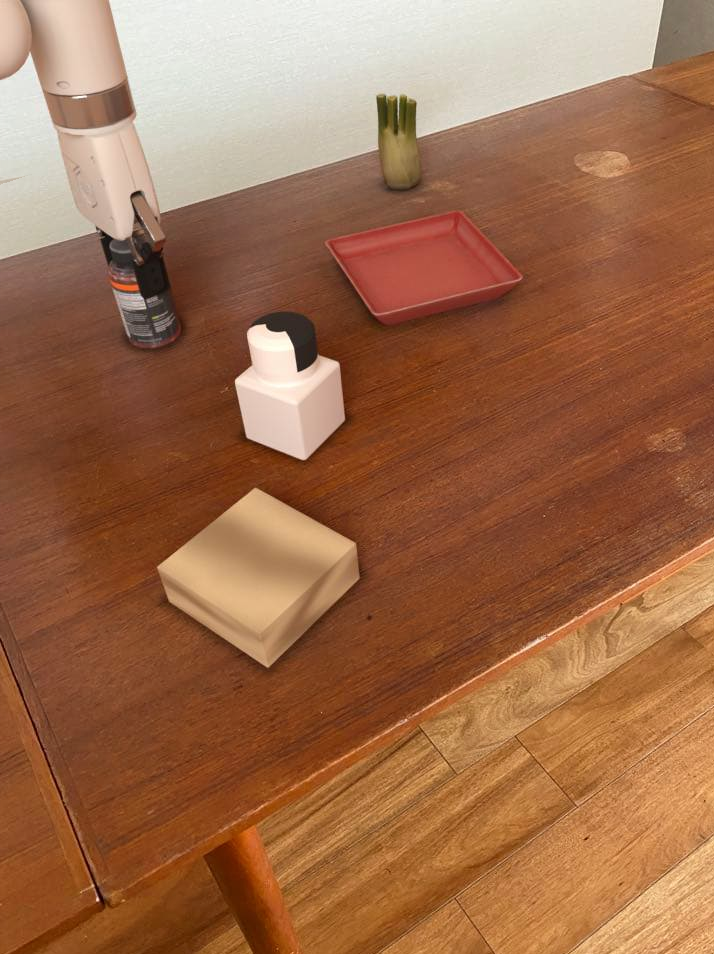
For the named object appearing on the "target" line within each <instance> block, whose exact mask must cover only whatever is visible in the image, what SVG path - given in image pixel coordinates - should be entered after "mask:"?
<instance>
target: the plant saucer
mask: <svg viewBox="0 0 714 954" xmlns="http://www.w3.org/2000/svg"><path fill="white" fill-rule="evenodd" d="M324 244H325V246H326V248H327V249H328V250H329V252H330V253H331V255H332V256H333V258H334V259H335V260H336V262H337V263H338V265H339V267H340V268H341V269H342V271H343V272H344V274H345V276H346V277H347V278H348V280H349V282H350V283H351V285H352V286H353V288H354V289H355V291H356V292H357V293H358V295H359V297H360V298H361V299H362V301H363V302H364V304H365V306H366V307H367V308H368V310H369V311H370V313H371V314H372V316H373V317H374V318H375V319H376V320H377V321H379V322H381V323H382V324H383V325H385V326H392V325H397V324H400V323H405V322H409V321H412V320H416V319H420V318H424V317H429V316H432V315H437V314H440V313H445V312H448V311H453V310H457V309H460V308H464V307H468V306H473V305H477V304H480V303H485V302H488V301H493V300H497V299H499V298H501V297H502V296H504V295H505V294H507V293H508V292H510V291H511V290H513V288H515V287H516V286H517V285H518V284H519V283H520V282H521V281H523V274H522V273H520V272H519V271H518V269H517V268H516V267H515V266H514V265H513V264H512V262H510V261H509V259H508V258H506V256H505V255H504V254H503V253H502V252H501V251H500V250H499V249H498V247H496V246H495V244H493V242H492V241H491V240H490V239H489V238H488V236H486V235H485V234H484V233H483V232H482V231H481V229H479V228H478V227H477V226H476V225H475V223H474V222H473V221H472V220H471V219H469V217H468V215H466V214H465V213H464V212H463V211H461V210H460V211H459V210H452V211H448V212H444V213H439V214H435V215H430V216H426V217H422V218H421V217H420V218H417V219H413V220H408V221H404V222H398V223H394V224H389V225H386V226H381V227H377V228H372V229H368V230H364V231H359V232H356V233H349V234H346V235H345V234H344V235H340V236H338V237H333V238H329V239H327V240H326V241H325V242H324Z"/></svg>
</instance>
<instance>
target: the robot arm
mask: <svg viewBox="0 0 714 954" xmlns="http://www.w3.org/2000/svg"><path fill="white" fill-rule="evenodd" d="M113 15H114V14H113V11H112V7H111V2H110V0H0V81H2V80H5V79H8V78H10V77H12V76H13V75H15V74H16V73H18V72H19V71H20V70H21V68H22V67H23V66H24V65H25V63H26V62H27V61H28V58H29V56H30V55H31V59H32V62H33V65H34V69H35V72H36V74H37V78H38V81H39V84H40V87H41V90H42V94H43V96H44V100H45V104H46V107H47V110H48V112H49V115H50V119H51V123H52V126H53V128H54V129H55V131H56V133H57V139H58V143H59V149H60V152H61V157H62V161H63V164H64V168H65V172H66V176H67V179H68V183H69V187H70V190H71V195H72V197H73V201H74V205H75V208H76V209H77V211H78V212H79V213H80V214H81V215H82V216H83V217H84V218H85V219H87V220H88V221H89V222H90V223H91V224H93V225H94V226H95V231H96V233H97V235H98V236H99V237H100V239H99V240H100V244H101V247H102V250H103V254H104V257H105V261H106V264H107V267H108V266H109V263H110V262H111V261H112V260H113V258H112V255H111V251H110V247H109V245H110V243H111V241H112V240H113V239H116V240H119V241H124V240H125V239H126V241H127V243H128V246H129V248H130V250H131V253H132V255H133V257H134V260H135V262H134V263H132V266H133V270H134V273H135V277H136V280H137V284H138V287H139V291H140V294H141V297H143V298H144V299H149V298H152V297H154V296H156V295H159V294H161V293H163V292H166V291H168V290H169V289H170V286H171V282H170V279H169V275H168V270H167V267H166V263H165V260H164V257H165V252H164V246H165V244H166V242H167V237H166V236H165V235H166V234H165V233H164V232H163V230H162V228H161V226H160V225H161V222H162V218H161V210H160V206H159V201H158V197H157V192H156V189H155V185H154V182H153V178H152V175H151V172H150V168H149V165H148V161H147V159H146V156H145V152H144V149H143V146H142V143H141V140H140V138H139V135H138V132H137V129H136V126H135V124H134V121H135V119H136V118H137V110H136V109H137V108H136V106H135V105H136V104H135V101H134V97H133V94H132V89H131V85H130V81H129V77H128V76H129V75H128V73H127V69H126V65H125V60H124V56H123V53H122V48H121V45H120V41H119V37H118V36H119V35H118V32H117V28H116V24H115V20H114V16H113ZM137 223H138V224H139V226H140V227H138V228H136V229H134V224H137ZM141 235H144V236H146V242H145V243H143V244H142V246H141V248H140V249H139V246H138V244H137V242H136V239H135V238H136V237H139V236H141Z"/></svg>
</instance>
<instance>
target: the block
mask: <svg viewBox="0 0 714 954" xmlns="http://www.w3.org/2000/svg"><path fill="white" fill-rule="evenodd" d="M156 569H157V572H158V575H159V577H160V579H161V583H162V586H163V588H164V591H165V594H166V597H167V599H168V602H169V603H171V604H172V605H173V606H175V607H176V608H178V609H179V610H181V611H182V612H184V613H186V614H187V615H188V616H189V617H191V618H193V619H194V620H196V621H197V622H198V623H200V624H202V625H203V626H205V627H206V628H208V629H210V631H212V632H214V633H215V634H216V635H218V636H220V637H221V638H223V639H224V640H226V641H227V642H229V643H230V644H232V645H233V646H235V647H236V648H238V650H240V651H242V652H244V653H245V654H247V656H250V658H252V659H254V660H255V661H257V662H259V664H261V665H263V666H264V667H266V668H267V669H268V668H270V667H271V666H272V665H273V664H274V663H275V662H276V661H277V660H278V659H279V658H280V657H281V656H282V655H283V654H284V653H285V652H286V651H287V650H289V648H290V647H291V646H293V644H294V643H296V641H298V639H300V638H301V636H303V634H304V633H306V632H307V631H308V629H310V628H311V626H313V624H315V623H316V622H317V621H318V620H319V619H320V618H321V617H322V616H323V615H324V614H325V613H326V612H327V611H328V610H329V609H330V608H331V607H332V606H333V605H334V604H335V603H336V602H337V601H338V600H339V599H340V598H342V596H343V595H344V594H345V593H346V592H348V590H349V589H350V588H352V586H354V584H356V582H358V580H360V568H359V557H358V547H357V542H355V541H353V540H351V539H349V538H348V537H346V536H343V535H342V534H341V533H339V532H337V531H335V530H333V529H332V528H330V527H328V526H326V525H324V524H322V523H320V522H319V521H317V520H315V519H313V518H311V517H310V516H308V515H306V514H304V513H302V512H300V511H299V510H297V509H295V508H293V507H291V506H290V505H288V504H286V503H284V502H283V501H281V500H279V499H277V498H276V497H274V496H272V495H270V494H268V493H266V492H264V491H263V490H261V489H260V488H257V487H254V488H253V489H252V490H250V491H249V492H247V494H246V495H244V496H243V497H242V498H240V499H239V500H238V501H236V503H234V504H233V505H231V506H230V507H229V508H228V509H227V510H225V512H223V513H221V515H220V516H218V517H217V518H216V519H214V520H213V521H212V522H210V523H209V524H208V525H207V526H206V527H205V528H203V529H202V530H201V531H200V532H198V533H197V534H196V535H195V536H193V537H192V538H191V539H189V540H188V541H187V542H186V543H185V544H183V545H182V546H181V547H180V548H179V549H177V550H176V551H175V552H174V553H172V554H171V555H170V556H169V557H167V558H166V559H165V560H163V562H161V563H159V564H158V566H156Z"/></svg>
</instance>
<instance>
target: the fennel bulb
mask: <svg viewBox="0 0 714 954" xmlns="http://www.w3.org/2000/svg"><path fill="white" fill-rule="evenodd" d="M375 99H376V109H377V110H376V111H377V148H378V157H379V161H380V162H379V163H380V167H381V173H382V176H383V179H384V182H385V183H386V185H387V187H388V188H389V189H390V190H392V191H397V192H406V191H409V190H410V189H412V188H415V187H416V186H417V185H418V184H419V182H420V180H421V176H422V165H421V154H420V149H419V145H418V138H417V104H418V103H417V101H416V99H414V98H410V97H408V96H407V95H406V94H403V93H400V95H399V100H398V96H397V95H389V96H387V95H386V93H379V94H376V95H375Z"/></svg>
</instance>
